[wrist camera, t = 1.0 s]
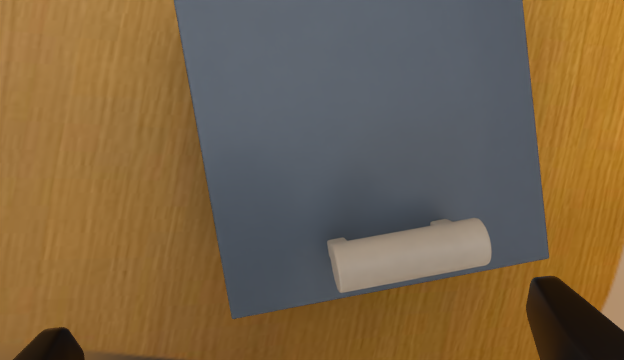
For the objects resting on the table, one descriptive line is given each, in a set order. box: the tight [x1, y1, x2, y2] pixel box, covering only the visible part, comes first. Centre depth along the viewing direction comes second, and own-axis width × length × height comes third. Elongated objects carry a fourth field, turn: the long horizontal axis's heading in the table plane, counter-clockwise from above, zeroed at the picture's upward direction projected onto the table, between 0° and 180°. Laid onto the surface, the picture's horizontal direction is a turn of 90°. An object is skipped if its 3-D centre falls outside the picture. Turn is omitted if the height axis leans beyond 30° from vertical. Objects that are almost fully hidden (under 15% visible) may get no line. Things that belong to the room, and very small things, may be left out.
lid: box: [174, 0, 549, 319], centre depth 18 cm, size 12×13×4 cm
